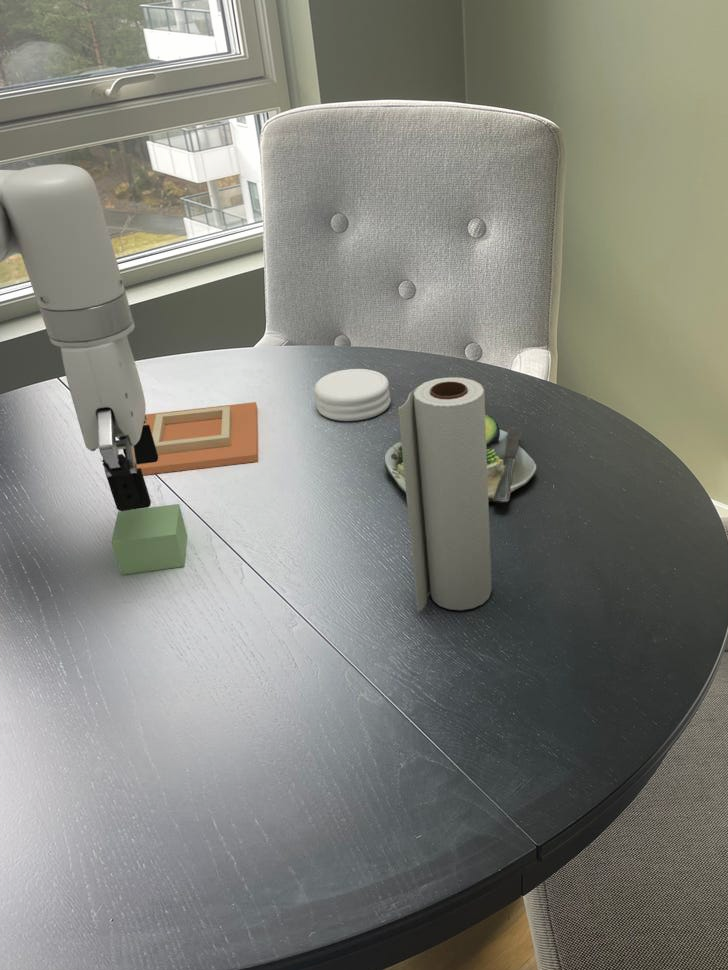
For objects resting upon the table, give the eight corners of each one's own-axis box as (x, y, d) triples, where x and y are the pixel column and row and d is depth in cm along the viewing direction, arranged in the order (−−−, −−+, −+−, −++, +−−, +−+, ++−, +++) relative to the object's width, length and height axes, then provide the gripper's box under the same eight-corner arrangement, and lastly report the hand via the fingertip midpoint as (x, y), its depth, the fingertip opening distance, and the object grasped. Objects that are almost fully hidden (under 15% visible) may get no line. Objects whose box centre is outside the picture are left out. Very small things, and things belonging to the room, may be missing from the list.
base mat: (125, 477, 118) (120, 461, 116) (137, 422, 130) (132, 406, 129) (258, 461, 120) (254, 445, 118) (257, 408, 132) (254, 393, 131)
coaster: (311, 398, 134) (307, 374, 132) (381, 386, 136) (378, 362, 134) (324, 427, 126) (321, 402, 124) (398, 415, 129) (396, 390, 127)
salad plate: (571, 500, 109) (572, 464, 106) (419, 533, 105) (416, 496, 102) (509, 431, 124) (509, 397, 121) (374, 457, 119) (370, 422, 116)
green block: (121, 575, 101) (111, 542, 98) (127, 543, 106) (117, 511, 103) (184, 566, 101) (175, 534, 99) (187, 535, 106) (179, 503, 104)
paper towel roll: (490, 575, 98) (483, 373, 85) (492, 611, 93) (485, 401, 80) (419, 578, 98) (401, 376, 85) (417, 614, 93) (397, 405, 80)
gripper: (60, 292, 94) (111, 451, 105) (28, 357, 81) (90, 533, 91) (138, 283, 95) (181, 442, 105) (120, 346, 81) (171, 521, 92)
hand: (139, 484), depth 98 cm, fingers open, 9 cm apart
